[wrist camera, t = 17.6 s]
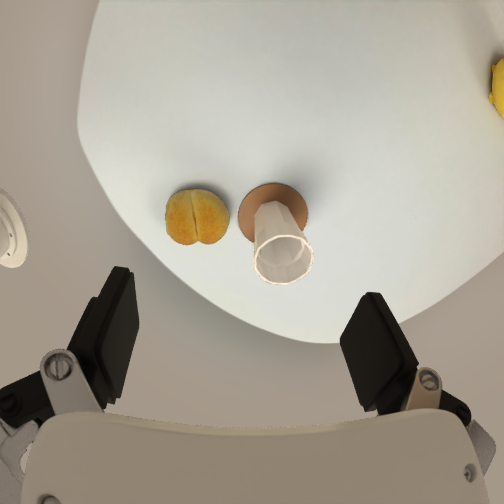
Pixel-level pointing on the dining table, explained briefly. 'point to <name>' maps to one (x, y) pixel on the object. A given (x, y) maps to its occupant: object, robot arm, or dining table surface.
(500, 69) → the teapot
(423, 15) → the dining table surface
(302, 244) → the cup
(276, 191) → the coaster
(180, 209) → the bread roll
